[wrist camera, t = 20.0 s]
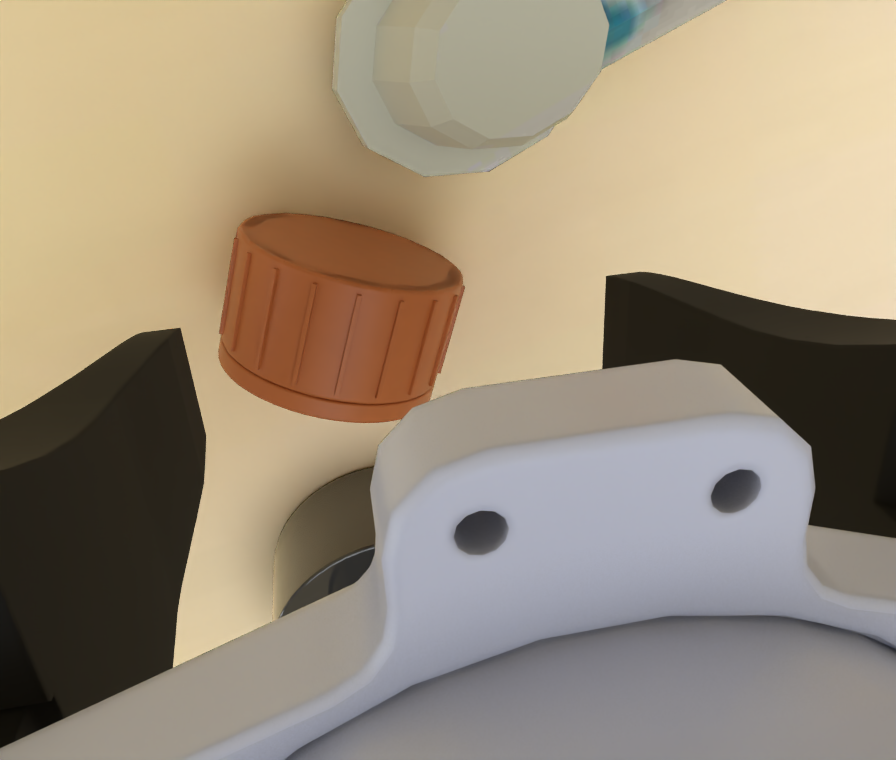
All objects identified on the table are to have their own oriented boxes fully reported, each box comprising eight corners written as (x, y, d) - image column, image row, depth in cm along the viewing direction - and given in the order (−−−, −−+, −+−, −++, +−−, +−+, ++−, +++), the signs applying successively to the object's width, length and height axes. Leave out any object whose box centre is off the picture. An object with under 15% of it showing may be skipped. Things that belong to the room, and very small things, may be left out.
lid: (510, 286, 20) (474, 401, 22) (358, 213, 23) (335, 318, 25) (349, 301, 16) (316, 445, 17) (187, 208, 19) (170, 337, 20)
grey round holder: (229, 595, 27) (212, 776, 21) (357, 425, 25) (379, 571, 19) (414, 668, 30) (446, 843, 24) (542, 522, 28) (612, 674, 22)
